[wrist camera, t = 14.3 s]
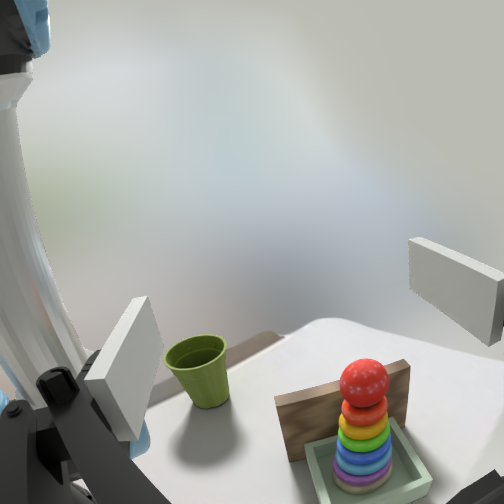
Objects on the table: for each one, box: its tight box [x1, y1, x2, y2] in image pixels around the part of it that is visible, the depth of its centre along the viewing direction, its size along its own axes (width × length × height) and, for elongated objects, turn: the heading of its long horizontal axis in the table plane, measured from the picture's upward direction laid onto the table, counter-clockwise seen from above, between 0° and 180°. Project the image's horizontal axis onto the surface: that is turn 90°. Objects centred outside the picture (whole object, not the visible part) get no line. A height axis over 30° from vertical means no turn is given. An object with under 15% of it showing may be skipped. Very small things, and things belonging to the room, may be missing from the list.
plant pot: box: [163, 334, 229, 409], centre depth 56 cm, size 12×12×11 cm
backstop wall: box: [274, 359, 411, 462], centre depth 39 cm, size 18×2×12 cm, turn 94°
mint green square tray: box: [304, 416, 433, 504], centre depth 32 cm, size 13×13×4 cm
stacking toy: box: [332, 359, 393, 494], centre depth 30 cm, size 8×8×19 cm
